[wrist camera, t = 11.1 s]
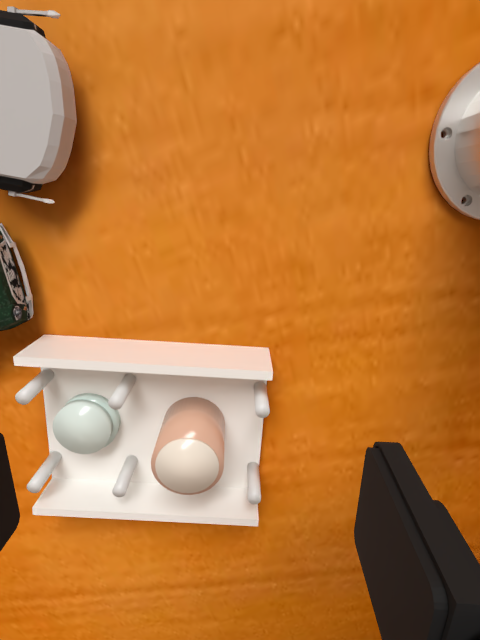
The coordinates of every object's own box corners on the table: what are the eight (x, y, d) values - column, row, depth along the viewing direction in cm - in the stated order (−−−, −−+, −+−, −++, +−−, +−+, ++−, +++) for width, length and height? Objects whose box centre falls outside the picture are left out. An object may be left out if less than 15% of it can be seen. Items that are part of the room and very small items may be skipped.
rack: (268, 347, 37) (273, 373, 31) (255, 486, 41) (258, 529, 36) (44, 334, 36) (10, 358, 31) (58, 476, 41) (30, 518, 36)
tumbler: (227, 399, 37) (227, 438, 31) (222, 452, 39) (220, 499, 33) (164, 394, 37) (151, 432, 31) (162, 448, 38) (149, 494, 32)
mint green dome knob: (119, 394, 37) (112, 406, 35) (121, 445, 38) (115, 458, 36) (60, 391, 37) (50, 402, 35) (64, 442, 38) (55, 455, 36)
